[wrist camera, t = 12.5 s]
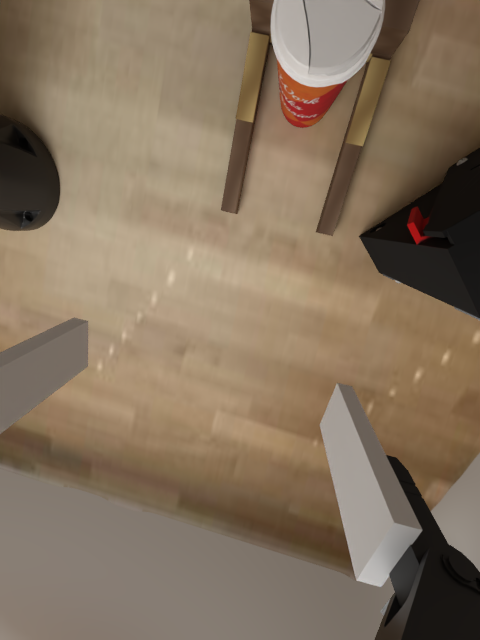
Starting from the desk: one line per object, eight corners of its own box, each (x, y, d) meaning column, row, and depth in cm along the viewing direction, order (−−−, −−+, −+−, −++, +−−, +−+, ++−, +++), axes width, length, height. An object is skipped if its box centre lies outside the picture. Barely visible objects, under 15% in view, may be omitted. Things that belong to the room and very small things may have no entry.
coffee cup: (259, 87, 33) (249, -15, 19) (321, 38, 30) (363, -123, 16) (291, 153, 34) (304, 105, 20) (352, 111, 32) (412, 25, 18)
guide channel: (223, 210, 38) (214, 208, 32) (259, 5, 30) (256, -45, 24) (330, 235, 37) (340, 237, 32) (395, 32, 29) (424, -12, 24)
